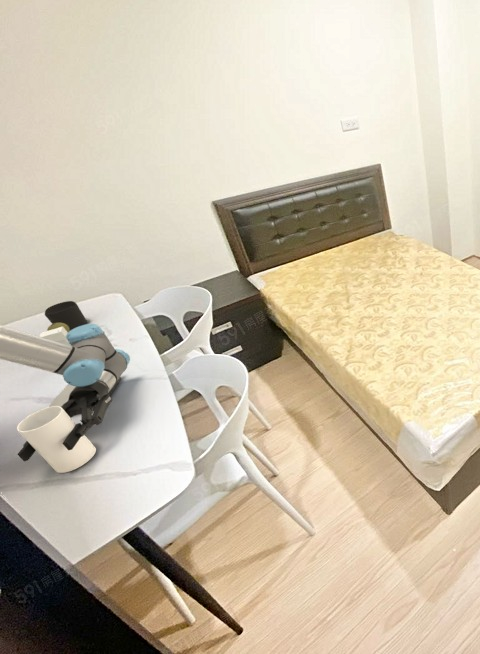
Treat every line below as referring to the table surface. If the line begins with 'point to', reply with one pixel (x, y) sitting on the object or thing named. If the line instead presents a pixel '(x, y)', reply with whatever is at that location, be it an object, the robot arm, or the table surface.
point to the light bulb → (57, 325)
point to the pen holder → (66, 314)
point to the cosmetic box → (56, 335)
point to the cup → (55, 439)
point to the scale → (68, 389)
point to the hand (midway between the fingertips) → (45, 451)
